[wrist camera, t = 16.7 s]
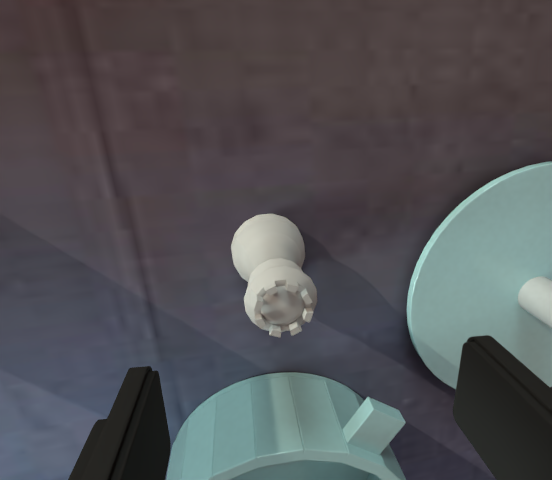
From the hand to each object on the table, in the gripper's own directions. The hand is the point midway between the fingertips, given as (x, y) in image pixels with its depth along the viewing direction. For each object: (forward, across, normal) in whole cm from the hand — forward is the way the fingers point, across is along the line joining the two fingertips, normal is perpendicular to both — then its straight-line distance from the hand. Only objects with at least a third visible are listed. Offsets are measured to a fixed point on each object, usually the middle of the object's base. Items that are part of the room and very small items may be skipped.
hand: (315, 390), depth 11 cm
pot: (+13, 0, +18) cm, 22 cm away
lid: (+12, -17, +4) cm, 22 cm away
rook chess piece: (+13, 0, 0) cm, 13 cm away
